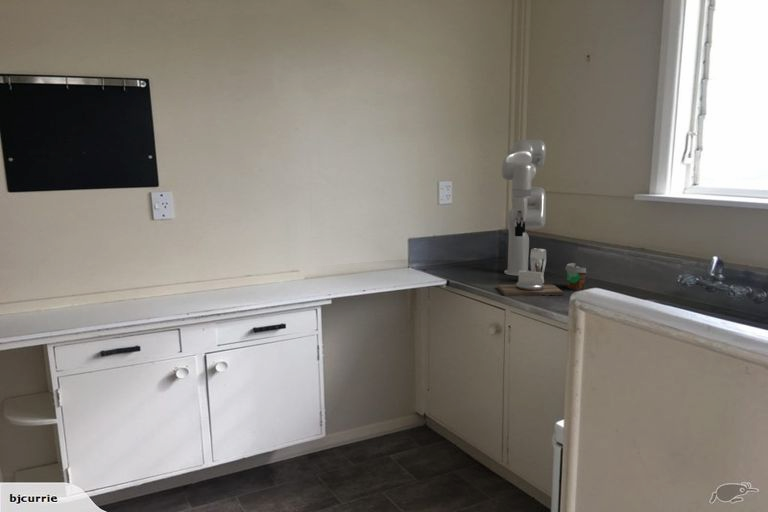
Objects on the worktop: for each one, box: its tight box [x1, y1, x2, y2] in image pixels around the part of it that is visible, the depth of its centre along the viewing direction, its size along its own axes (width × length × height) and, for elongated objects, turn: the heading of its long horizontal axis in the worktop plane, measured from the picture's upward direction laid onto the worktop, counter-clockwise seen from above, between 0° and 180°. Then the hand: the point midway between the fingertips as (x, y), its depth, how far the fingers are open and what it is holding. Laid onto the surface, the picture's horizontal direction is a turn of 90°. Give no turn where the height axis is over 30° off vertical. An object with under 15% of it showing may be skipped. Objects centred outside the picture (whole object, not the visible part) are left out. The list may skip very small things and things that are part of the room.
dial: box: [516, 270, 545, 290], centre depth 255 cm, size 11×11×7 cm
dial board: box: [496, 283, 565, 297], centre depth 255 cm, size 15×24×2 cm, turn 91°
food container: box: [565, 262, 587, 291], centre depth 261 cm, size 12×6×10 cm, turn 5°
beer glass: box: [529, 248, 547, 284], centre depth 273 cm, size 7×7×15 cm
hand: (519, 234), depth 258 cm, fingers open, 9 cm apart
